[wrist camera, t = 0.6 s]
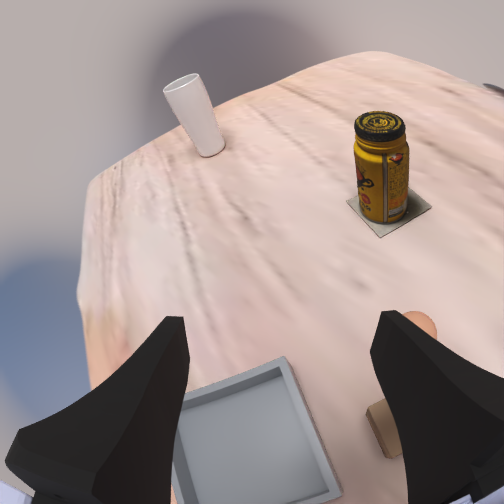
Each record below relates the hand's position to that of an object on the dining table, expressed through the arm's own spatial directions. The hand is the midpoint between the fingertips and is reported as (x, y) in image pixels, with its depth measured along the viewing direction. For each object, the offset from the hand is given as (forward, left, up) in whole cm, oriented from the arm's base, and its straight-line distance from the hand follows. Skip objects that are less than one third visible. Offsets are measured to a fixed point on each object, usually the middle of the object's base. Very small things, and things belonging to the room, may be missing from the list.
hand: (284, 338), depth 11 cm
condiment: (+18, -17, -17) cm, 30 cm away
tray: (-1, +8, -17) cm, 19 cm away
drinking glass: (+48, 0, -17) cm, 51 cm away
